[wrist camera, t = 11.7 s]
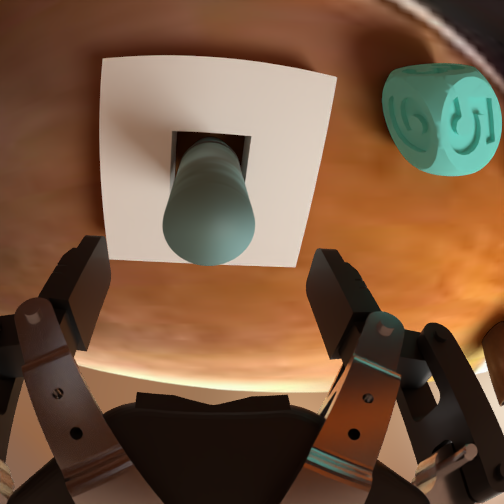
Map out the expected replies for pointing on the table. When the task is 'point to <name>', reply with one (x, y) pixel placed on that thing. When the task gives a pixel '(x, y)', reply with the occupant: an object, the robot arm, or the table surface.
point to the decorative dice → (442, 117)
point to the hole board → (211, 121)
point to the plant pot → (495, 358)
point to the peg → (209, 206)
